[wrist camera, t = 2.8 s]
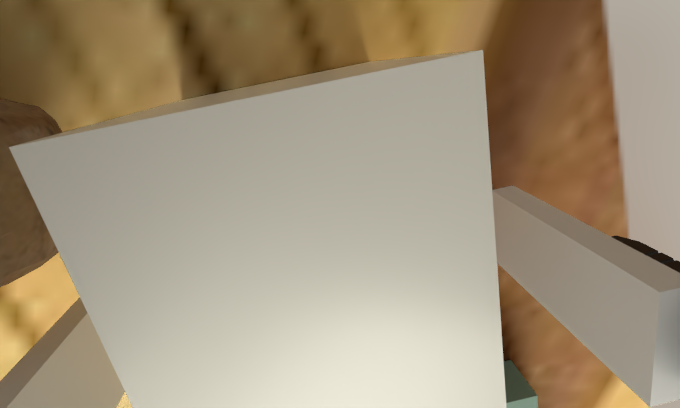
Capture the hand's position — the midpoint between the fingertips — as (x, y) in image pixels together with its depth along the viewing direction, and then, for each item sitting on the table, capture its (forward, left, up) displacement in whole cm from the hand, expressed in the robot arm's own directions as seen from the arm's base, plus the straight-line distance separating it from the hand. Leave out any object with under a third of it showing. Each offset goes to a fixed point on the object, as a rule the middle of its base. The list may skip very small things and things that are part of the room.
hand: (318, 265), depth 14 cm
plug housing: (0, 0, -1) cm, 1 cm away
